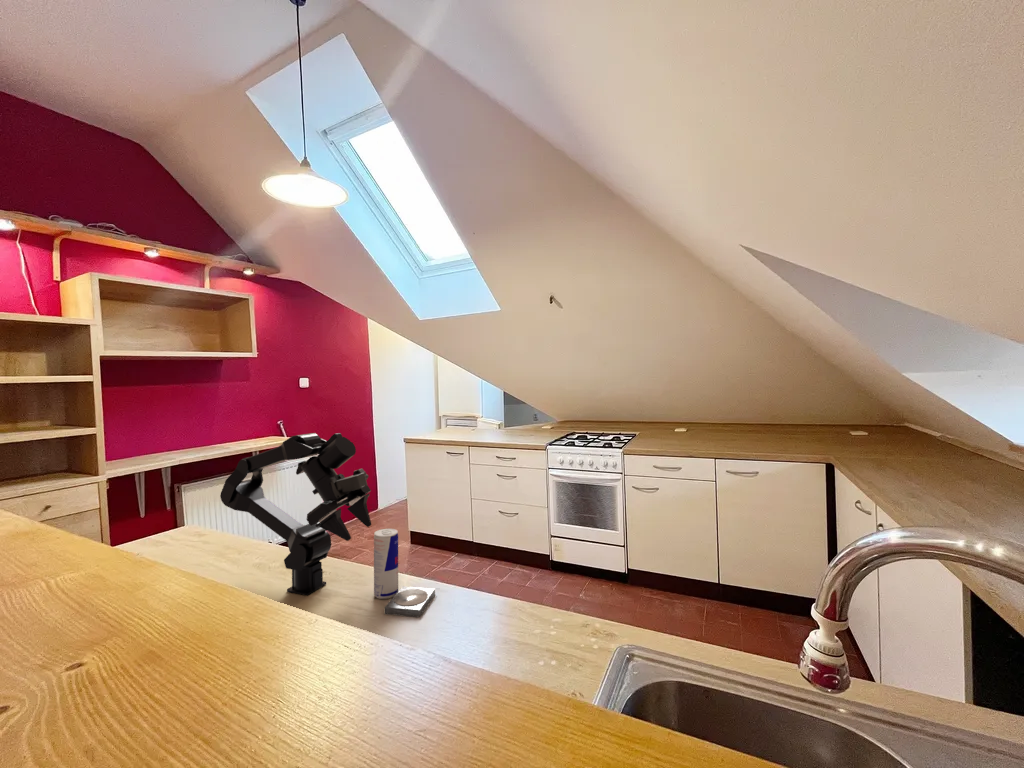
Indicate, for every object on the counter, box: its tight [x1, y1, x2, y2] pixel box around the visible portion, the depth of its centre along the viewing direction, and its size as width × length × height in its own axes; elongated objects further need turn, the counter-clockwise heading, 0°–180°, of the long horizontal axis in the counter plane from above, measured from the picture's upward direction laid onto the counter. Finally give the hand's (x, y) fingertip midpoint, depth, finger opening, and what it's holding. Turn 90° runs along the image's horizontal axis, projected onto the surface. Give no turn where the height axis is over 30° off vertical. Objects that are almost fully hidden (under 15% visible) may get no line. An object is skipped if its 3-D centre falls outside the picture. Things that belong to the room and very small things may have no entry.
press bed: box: [384, 585, 436, 618], centre depth 100 cm, size 8×10×2 cm
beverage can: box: [373, 528, 399, 600], centre depth 104 cm, size 6×6×15 cm
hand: (360, 532), depth 105 cm, fingers open, 9 cm apart
